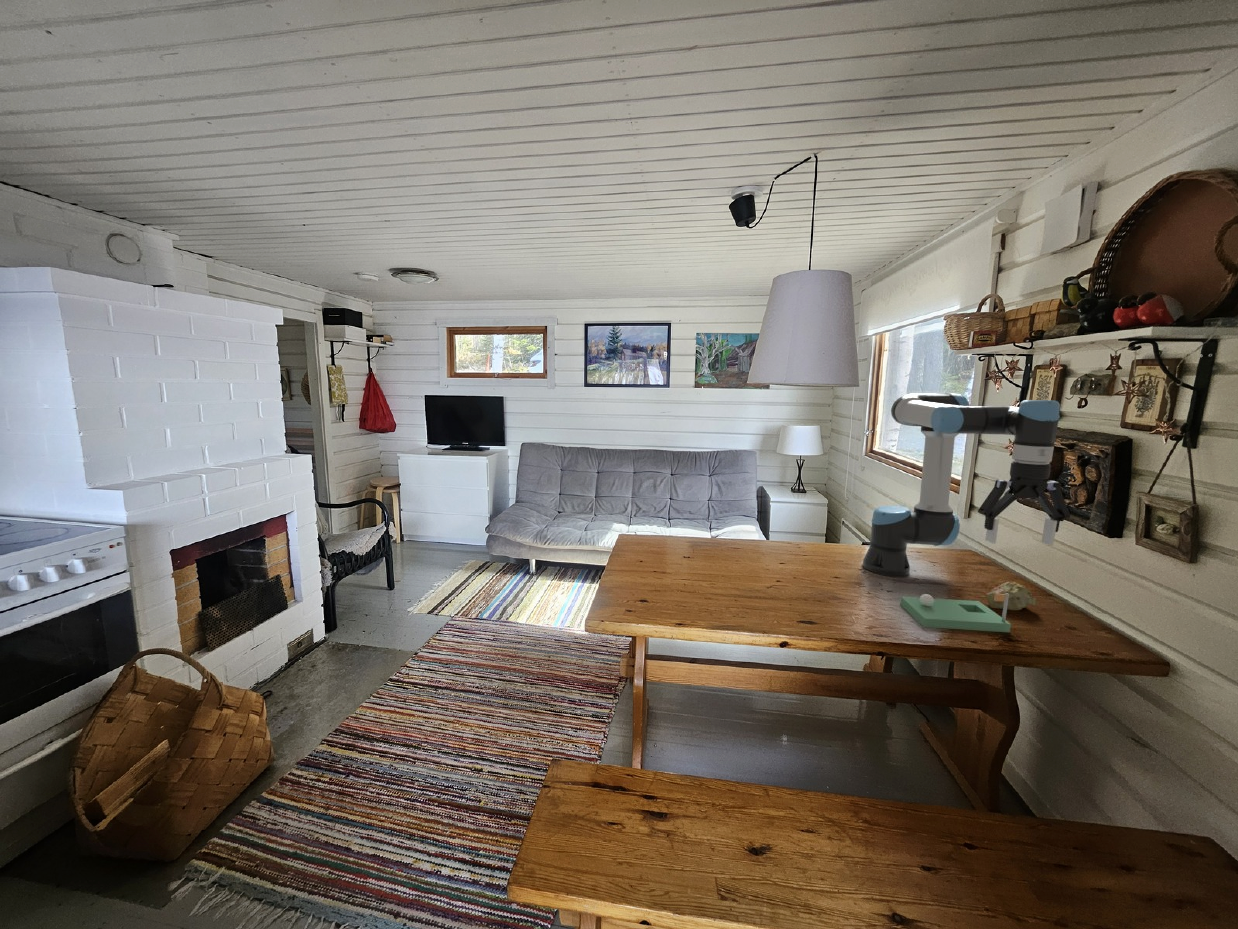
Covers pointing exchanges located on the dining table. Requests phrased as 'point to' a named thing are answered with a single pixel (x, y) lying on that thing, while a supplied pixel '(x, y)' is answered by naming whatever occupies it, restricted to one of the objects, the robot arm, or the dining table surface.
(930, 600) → the ball
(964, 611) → the green
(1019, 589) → the rock
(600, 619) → the dining table surface
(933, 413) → the robot arm
